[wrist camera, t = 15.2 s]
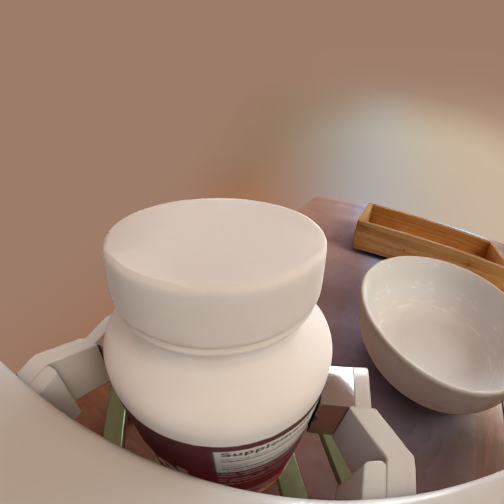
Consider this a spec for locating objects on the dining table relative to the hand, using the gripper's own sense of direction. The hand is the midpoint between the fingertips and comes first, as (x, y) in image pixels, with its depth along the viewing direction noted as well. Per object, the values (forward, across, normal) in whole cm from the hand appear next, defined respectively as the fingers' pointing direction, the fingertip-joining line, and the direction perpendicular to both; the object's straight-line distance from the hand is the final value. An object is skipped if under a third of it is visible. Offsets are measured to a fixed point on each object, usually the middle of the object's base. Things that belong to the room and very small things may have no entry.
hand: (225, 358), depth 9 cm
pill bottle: (-1, 0, +6) cm, 6 cm away
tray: (+40, -27, +12) cm, 50 cm away
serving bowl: (+13, -18, +12) cm, 25 cm away
